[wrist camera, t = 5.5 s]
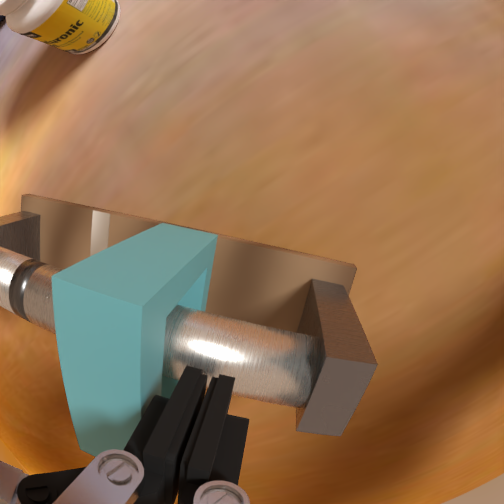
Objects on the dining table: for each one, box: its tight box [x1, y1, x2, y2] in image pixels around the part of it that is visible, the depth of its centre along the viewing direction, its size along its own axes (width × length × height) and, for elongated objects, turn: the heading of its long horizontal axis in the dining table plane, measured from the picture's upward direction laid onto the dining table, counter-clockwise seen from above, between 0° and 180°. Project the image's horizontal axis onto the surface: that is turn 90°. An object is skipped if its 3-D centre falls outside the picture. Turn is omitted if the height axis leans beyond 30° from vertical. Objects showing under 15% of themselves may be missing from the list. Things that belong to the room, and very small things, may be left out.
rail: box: [0, 211, 378, 436], centre depth 16 cm, size 24×4×9 cm, turn 79°
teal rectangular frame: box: [51, 223, 218, 457], centre depth 13 cm, size 3×8×9 cm, turn 169°
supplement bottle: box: [0, 0, 120, 54], centre depth 12 cm, size 5×5×10 cm
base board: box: [21, 194, 357, 332], centre depth 20 cm, size 25×6×1 cm, turn 79°
